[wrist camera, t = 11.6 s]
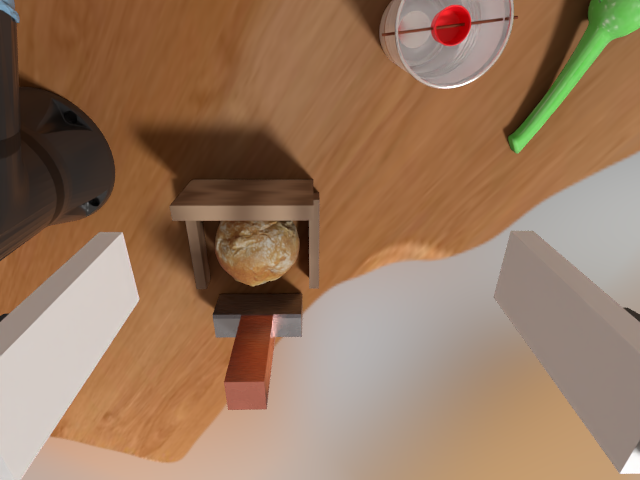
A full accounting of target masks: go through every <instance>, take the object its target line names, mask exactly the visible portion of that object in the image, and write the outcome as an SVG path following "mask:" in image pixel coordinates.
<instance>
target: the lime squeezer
mask: <svg viewBox="0 0 640 480" xmlns="http://www.w3.org/2000/svg"><path fill="white" fill-rule="evenodd" d="M588 20H589V25H588V27H587V29H586V31H585V33H584V35H583V37H582V38H581V40H580V42H579V44H578V46H577V47H576V49H575V51H574V52H573V54H572V56H571V57H570V59H569V61H568V62H567V64H566V65H565V67H564V69H563V70H562V72H561V73H560V75H559V76H558V78H557V79H556V80H555V82H554V83H553V85H552V86H551V88H550V89H549V90H548V92H547V93H546V95H545V96H544V97H543V99H542V100H541V101H540V102H539V104H538V105H537V106H536V108H535V109H534V110H533V111H532V113H531V114H530V115H529V116H528V117H527V118H526V120H525V121H524V122H523V123H522V124H521V126H520V127H519V128H518V129H517V130H516V131H515V132H514V133H513V134H511V135H510V136H509V137H508V141H509V145H510V148H511V150H512V151H514V152H515V153H519V152H520V151H521V150H522V148H523V147H524V146H525V145H526V144H527V143H528V142H529V141H530V140H531V138H532V137H533V136H534V135H535V134H536V133H537V131H538V130H539V129H540V128H541V127H542V126H543V124H544V123H545V122H546V121H547V119H548V118H549V117H550V116H551V115H552V113H553V112H554V111H555V110H556V109H557V108H558V106H559V105H560V104H561V103H562V101H563V100H564V99H565V98H566V96H567V95H568V94H569V93H570V91H571V90H572V89H573V87H574V86H575V85H576V84H577V82H578V81H579V80H580V78H581V77H582V76H583V75H584V73H585V72H586V71H587V69H588V68H589V67H590V66H591V64H592V63H593V62H594V60H595V59H596V58H597V57H598V55H599V54H600V53H601V51H602V50H603V49H604V47H605V46H606V45H607V44H608V43H609V42H610V41H612V40H613V39H615V38H619V37H622V36H625V35H628V34H630V33H631V32H633V31H635V30H637V29H638V28H640V0H591V1H590V4H589V9H588Z"/></svg>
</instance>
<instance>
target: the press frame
mask: <svg viewBox="0 0 640 480" xmlns="http://www.w3.org/2000/svg"><path fill="white" fill-rule="evenodd" d="M170 210H171V216H172V221H186V227H187V233H188V239H189V245H190V251H191V257H192V263H193V269H194V275H195V281H196V287H197V289H207V286H208V284H209V282H210V279H211V277H210V270H209V263H208V256H207V249H206V243H205V236H204V229H203V222H202V221H292V220H309V288H319V193H313V180H191V181H190V183H189V184H188V185H187V186H186V187H185V188H184V190H183V191H182V192H181V193H180V194H179V195H178V197H177V198H176V199H175V200H174V201H173V202H172V204H171V205H170Z"/></svg>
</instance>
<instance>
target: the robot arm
mask: <svg viewBox="0 0 640 480" xmlns="http://www.w3.org/2000/svg"><path fill="white" fill-rule="evenodd" d="M19 19H20V18H19V15H18V13H17V12H16V11H15V3H14V0H0V261H1V260H2V259H3V258H5V257H6V256H8V255H9V254H10V253H12V252H13V251H14V250H16V249H17V248H18V247H20V246H21V245H22V244H24V243H25V242H26V241H28V240H29V239H31V238H32V237H33V236H35V235H36V234H37V233H39V232H40V231H41V230H43V229H44V228H45V227H47V226H50V225H55V224H60V223H65V222H71V221H76V220H80V219H82V218H85V217H87V216H89V215H91V214H93V213H95V212H96V211H97V210H99V209H100V208H101V207H102V206H103V205H104V204H105V203H106V201H107V200H108V198H109V197H110V195H111V192H112V190H113V187H114V182H115V165H114V160H113V156H112V153H111V150H110V147H109V145H108V143H107V141H106V139H105V137H104V136H103V134H102V133H101V131H100V130H99V128H98V127H97V126H96V124H95V123H94V122H93V121H92V120H91V119H90V118H89V117H88V116H87V115H86V114H85V113H84V112H83V111H82V110H80V109H79V108H78V107H77V106H75V105H74V104H72V103H71V102H69V101H68V100H66V99H64V98H62V97H60V96H58V95H56V94H54V93H51V92H49V91H46V90H42V89H38V88H33V87H19V73H18V48H17V23H19ZM494 298H495V300H496V301H497V303H498V304H499V305H500V307H501V308H502V309H503V311H504V312H505V314H506V315H507V317H508V318H509V319H510V321H511V322H512V324H513V325H514V326H515V328H516V329H517V331H518V332H519V333H520V335H521V336H522V338H523V339H524V340H525V342H526V343H527V345H528V346H529V347H530V349H531V350H532V352H533V353H534V354H535V356H536V357H537V358H538V360H539V361H540V363H541V364H542V365H543V367H544V368H545V370H546V371H547V373H548V374H549V375H550V377H551V378H552V380H553V381H554V382H555V383H556V385H557V386H558V388H559V389H560V391H561V392H562V394H563V395H564V396H565V398H566V399H567V400H568V402H569V403H570V405H571V406H572V408H573V409H574V410H575V412H576V413H577V415H578V416H579V417H580V419H581V420H582V422H583V423H584V424H585V426H586V427H587V428H588V430H589V431H590V433H591V434H592V435H593V436H594V438H595V440H596V441H597V443H598V444H599V445H600V447H601V448H602V449H603V451H604V452H605V454H606V455H607V457H608V458H609V459H610V461H611V462H612V464H613V465H614V466H615V468H616V469H617V470H618V472H619V473H620V474H625V473H626V474H627V473H640V314H638V313H636V312H634V311H632V310H631V309H629V308H623V307H621V306H620V305H619V304H618V303H617V302H615V301H614V300H613V299H612V298H611V297H610V296H609V295H607V294H606V293H605V292H604V291H602V290H601V289H600V288H599V287H598V286H597V285H596V284H594V283H593V282H592V281H591V280H590V279H589V278H587V277H586V276H585V275H584V274H583V273H582V272H580V271H579V270H578V269H577V268H576V267H575V266H573V265H572V264H571V263H570V262H569V261H568V260H566V259H565V258H564V257H563V256H562V255H560V254H559V253H558V252H557V251H556V250H555V249H554V248H552V247H551V246H550V245H549V244H548V243H546V242H545V241H544V240H543V239H542V238H541V237H539V236H538V235H537V234H536V233H535V232H534V231H511V232H510V236H509V240H508V244H507V248H506V252H505V256H504V259H503V263H502V267H501V271H500V275H499V279H498V283H497V287H496V290H495V294H494ZM138 301H139V296H138V292H137V288H136V284H135V280H134V276H133V272H132V268H131V264H130V260H129V256H128V252H127V248H126V244H125V240H124V236H123V232H99V233H98V234H97V235H96V236H95V237H93V238H92V239H91V240H90V241H89V242H88V243H87V244H86V245H85V246H84V247H82V248H81V249H80V250H79V251H78V252H77V253H76V254H75V255H74V256H73V257H71V258H70V259H69V260H68V261H67V262H66V263H65V264H64V265H63V266H62V267H60V268H59V269H58V270H57V271H56V272H55V273H54V274H53V275H52V276H50V277H49V278H48V279H47V280H46V281H45V282H44V283H43V284H42V285H41V286H39V287H38V288H37V289H36V290H35V291H34V292H33V293H32V294H31V295H30V296H28V297H27V298H26V299H25V300H24V301H23V302H22V303H21V304H20V305H18V306H17V307H16V308H15V309H14V310H13V311H12V312H11V313H10V314H3V315H1V316H0V480H21V479H22V477H23V475H24V474H25V472H26V471H27V469H28V468H29V466H30V465H31V463H32V462H33V460H34V459H35V457H36V456H37V454H38V453H39V451H40V450H41V448H42V447H43V445H44V444H45V442H46V441H47V439H48V438H49V436H50V435H51V433H52V432H53V430H54V429H55V427H56V426H57V424H58V422H59V421H60V419H61V418H62V416H63V415H64V413H65V412H66V410H67V409H68V407H69V406H70V404H71V403H72V401H73V400H74V398H75V397H76V395H77V394H78V392H79V391H80V389H81V388H82V386H83V385H84V383H85V382H86V380H87V379H88V377H89V376H90V374H91V372H92V371H93V369H94V368H95V366H96V365H97V363H98V362H99V360H100V359H101V357H102V356H103V354H104V353H105V351H106V350H107V348H108V347H109V345H110V344H111V342H112V341H113V339H114V338H115V336H116V335H117V333H118V332H119V330H120V329H121V327H122V326H123V324H124V322H125V321H126V319H127V318H128V316H129V315H130V313H131V312H132V310H133V309H134V307H135V306H136V304H137V303H138Z"/></svg>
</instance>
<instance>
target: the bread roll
mask: <svg viewBox="0 0 640 480" xmlns="http://www.w3.org/2000/svg"><path fill="white" fill-rule="evenodd" d="M214 248H215V253H216V257H217V259H218V261H219V264H220V265H221V266H222V268H223V269H224V270H225V271H226V272H227V273H229V274H230V275H231V276H232V277H233V279H235V281H239V282H242V283H244V284H247V285H250V286H255V285H260V284H264V283H266V282H268V281H273V280H276V279H278V278H280V277H281V276H282V275H284V274H285V273H286V272H287V271H288V270H289V269H290V268H291V267H292V266H293V264H294V263H295V262H296V260H297V257H298V253H299V237H298V233H297V229H296V226H295V225H294V223H293V221H220V224H219V226H218V230H217V234H216V237H215V247H214Z"/></svg>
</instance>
